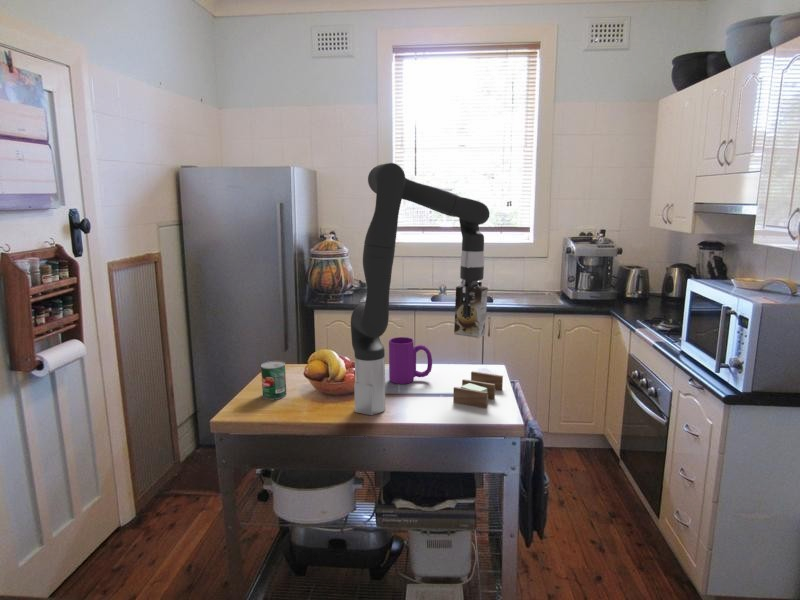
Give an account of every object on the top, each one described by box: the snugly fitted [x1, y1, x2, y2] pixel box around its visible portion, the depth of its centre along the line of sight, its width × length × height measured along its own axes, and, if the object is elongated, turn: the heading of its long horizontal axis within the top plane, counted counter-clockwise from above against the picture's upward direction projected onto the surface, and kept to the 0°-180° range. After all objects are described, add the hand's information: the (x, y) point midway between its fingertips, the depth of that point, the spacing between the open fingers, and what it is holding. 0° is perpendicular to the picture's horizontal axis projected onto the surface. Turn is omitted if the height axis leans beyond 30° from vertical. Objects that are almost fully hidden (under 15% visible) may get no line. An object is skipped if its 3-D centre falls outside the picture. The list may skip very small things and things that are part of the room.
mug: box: [388, 336, 433, 385], centre depth 189 cm, size 9×16×15 cm, turn 90°
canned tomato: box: [260, 360, 287, 401], centre depth 176 cm, size 8×8×11 cm
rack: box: [452, 370, 504, 409], centre depth 174 cm, size 18×11×5 cm, turn 153°
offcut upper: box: [460, 383, 487, 392], centre depth 170 cm, size 5×7×2 cm, turn 45°
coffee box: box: [453, 284, 489, 339], centre depth 173 cm, size 9×6×16 cm
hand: (470, 314), depth 173 cm, fingers closed on coffee box, 6 cm apart
